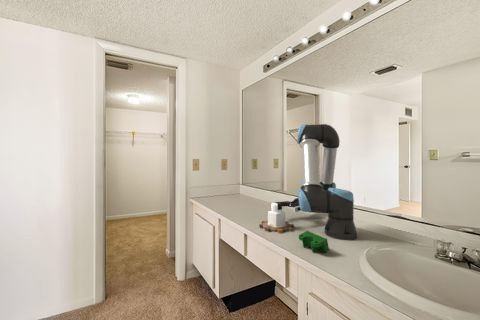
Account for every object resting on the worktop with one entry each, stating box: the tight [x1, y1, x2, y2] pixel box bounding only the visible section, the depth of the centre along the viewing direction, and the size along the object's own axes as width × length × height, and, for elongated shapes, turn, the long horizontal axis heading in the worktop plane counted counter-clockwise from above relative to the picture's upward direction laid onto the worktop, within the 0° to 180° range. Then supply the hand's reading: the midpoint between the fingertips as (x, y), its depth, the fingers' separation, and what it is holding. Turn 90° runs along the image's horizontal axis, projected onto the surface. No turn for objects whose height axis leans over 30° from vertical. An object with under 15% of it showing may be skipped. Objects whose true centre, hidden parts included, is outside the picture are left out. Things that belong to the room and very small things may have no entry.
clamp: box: [298, 230, 330, 254], centre depth 89 cm, size 12×6×9 cm, turn 20°
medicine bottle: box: [267, 201, 286, 227], centre depth 118 cm, size 7×7×12 cm
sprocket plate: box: [258, 220, 295, 234], centre depth 118 cm, size 19×19×2 cm
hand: (283, 208), depth 123 cm, fingers open, 13 cm apart
